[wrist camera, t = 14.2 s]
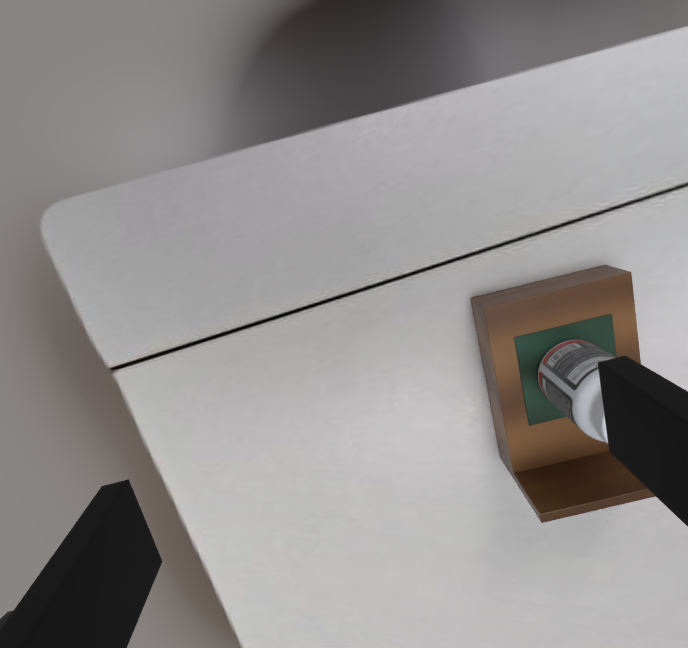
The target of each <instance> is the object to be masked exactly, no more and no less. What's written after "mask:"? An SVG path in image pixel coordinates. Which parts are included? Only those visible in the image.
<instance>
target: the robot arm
mask: <svg viewBox="0 0 688 648" xmlns="http://www.w3.org/2000/svg"><path fill="white" fill-rule="evenodd" d="M598 370H599V377H600V385H601V393H602V400H603V408H604V416H605V423H606V431H607V439H608V446H609V452H610V453H611V454H612V455H613V456H614V457H615V458H616V459H617V460H618V461H619V462H620V463H622V464H623V465H624V466H625V467H626V468H627V469H628V470H629V471H630V472H631V473H632V474H633V475H634V476H635V477H636V478H637V479H638V480H639V481H640V482H642V483H643V484H644V485H645V486H646V487H647V488H648V489H649V490H650V491H651V492H652V493H653V494H654V495H655V496H656V497H657V498H658V499H659V500H660V501H661V502H663V503H664V504H665V505H666V506H667V507H668V508H669V509H670V510H671V511H672V512H673V513H674V514H675V515H676V516H677V517H678V518H679V519H680V520H681V521H682V522H684V523H685V524H686V525H687V526H688V392H687V391H686V390H684V389H682V388H681V387H679V386H677V385H675V384H674V383H672V382H670V381H669V380H667V379H665V378H663V377H662V376H660V375H658V374H657V373H655V372H653V371H651V370H650V369H648V368H646V367H645V366H643V365H641V364H639V363H638V362H636V361H634V360H633V359H631V358H629V357H627V356H626V355H625V356H621V357H617V358H613V359H609V360H605V361H601V362H598ZM161 563H162V559H161V557H160V555H159V552H158V550H157V548H156V545H155V542H154V540H153V538H152V535H151V533H150V530H149V528H148V525H147V523H146V521H145V518H144V516H143V513H142V511H141V508H140V506H139V503H138V501H137V499H136V496H135V494H134V491H133V489H132V487H131V484H130V482H129V480H125V481H121V482H117V483H113V484H109V485H105V486H102V487H101V489H100V490H99V491H98V493H97V494H96V496H95V497H94V498H93V500H92V501H91V503H90V504H89V505H88V507H87V508H86V509H85V511H84V513H83V514H82V515H81V517H80V518H79V519H78V521H77V522H76V524H75V525H74V527H73V528H72V529H71V531H70V532H69V533H68V535H67V536H66V538H65V539H64V540H63V542H62V543H61V545H60V546H59V548H58V549H57V551H56V552H55V553H54V555H53V556H52V557H51V559H50V560H49V562H48V563H47V564H46V566H45V567H44V569H43V570H42V571H41V573H40V574H39V576H38V577H37V579H36V580H35V582H34V583H33V584H32V586H31V587H30V588H29V590H28V591H27V593H26V594H25V596H24V597H23V598H22V600H21V601H20V603H19V604H18V605H17V607H16V608H15V610H14V611H10V612H7V613H6V614H5V615H4V616H3V617H2V618H1V619H0V648H127V645H128V643H129V641H130V638H131V636H132V633H133V631H134V629H135V626H136V624H137V621H138V619H139V616H140V614H141V612H142V609H143V607H144V604H145V602H146V599H147V597H148V595H149V592H150V590H151V587H152V585H153V583H154V580H155V578H156V575H157V573H158V570H159V568H160V566H161Z"/></svg>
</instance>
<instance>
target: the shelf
mask: <svg viewBox="0 0 688 648" xmlns="http://www.w3.org/2000/svg"><path fill="white" fill-rule="evenodd" d="M471 304H472V309H473V314H474V320H475V325H476V330H477V336H478V341H479V346H480V352H481V357H482V362H483V368H484V373H485V378H486V384H487V389H488V394H489V400H490V405H491V411H492V416H493V421H494V427H495V432H496V437H497V443H498V448H499V453H500V458H501V460H502V461H503V463H504V464H505V466H506V468H507V469H508V471H509V472H510V474H511V475H512V477H513V479H514V480H515V482H516V483H517V485H518V487H519V488H520V490H521V491H522V493H523V494H524V496H525V498H526V499H527V501H528V502H529V504H530V505H531V507H532V508H533V510H534V512H535V513H536V515H537V516H538V518H539V519H540V521H541V522H542V523H543V522H547V521H552V520H556V519H560V518H565V517H569V516H573V515H577V514H582V513H586V512H590V511H595V510H599V509H603V508H607V507H612V506H616V505H620V504H625V503H629V502H633V501H638V500H642V499H646V498H650V497H655V495H654V494H653V493H652V492H651V491H650V490H649V489H648V488H647V487H646V486H645V485H644V484H643V483H642V482H640V481H639V480H638V479H637V478H636V477H635V476H634V475H633V474H632V473H631V472H630V471H629V470H628V469H627V468H626V467H625V466H624V465H623V464H622V463H620V462H619V461H618V460H617V459H616V458H615V457H614V456H613V455H612V454H611V453H610V452H609V446H608V444H607V443H606V442H603V441H599V440H596V439H594V438H592V437H590V436H588V435H587V434H586V433H584V432H583V431H582V430H581V429H580V428H579V427H578V426H576V425H575V424H574V423H573V422H572V421H571V420H570V419H569V418H568V417H567V416H566V415H565V414H564V413H563V412H562V411H560V410H559V409H558V408H557V407H556V406H555V405H554V404H553V403H552V402H551V401H550V400H549V399H548V398H547V397H546V396H545V395H544V393H543V392H542V390H541V388H540V386H539V382H538V370H539V366H540V363H541V361H542V359H543V358H544V356H545V355H546V353H547V352H548V351H549V350H550V349H552V348H553V347H554V346H556V345H558V344H560V343H562V342H565V341H569V340H583V341H587V342H589V343H592V344H594V345H596V346H597V347H599V348H600V349H602V350H604V351H606V352H607V353H609V354H611V355H613V356H614V357H616V358H617V357H621V356H625V355H626V356H627V357H629V358H631V359H633V360H634V361H636V362H638V363H639V364H641V361H640V352H639V342H638V333H637V323H636V314H635V304H634V295H633V285H632V276H631V272H628V271H625V270H622V269H618V268H615V267H611V266H608V265H603V266H599V267H595V268H591V269H587V270H583V271H579V272H574V273H570V274H566V275H562V276H558V277H554V278H550V279H546V280H542V281H538V282H534V283H530V284H526V285H522V286H517V287H513V288H509V289H505V290H501V291H497V292H493V293H489V294H485V295H481V296H477V297H473V298H471Z"/></svg>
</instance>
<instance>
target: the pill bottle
mask: <svg viewBox="0 0 688 648" xmlns="http://www.w3.org/2000/svg"><path fill="white" fill-rule="evenodd" d="M613 358H616V357H614V356H613V355H611V354H609V353H607V352H606V351H604V350H602V349H600V348H599V347H597V346H596V345H594V344H592V343H589V342H587V341H583V340H569V341H565V342H562V343H560V344H558V345H556V346H554V347H553V348H552V349H550V350H549V351H548V352H547V353H546V355H545V356H544V358H543V359H542V361H541V363H540V366H539V370H538V382H539V386H540V388H541V390H542V392H543V393H544V395H545V396H546V397H547V398H548V399H549V400H550V401H551V402H552V403H553V404H554V405H555V406H556V407H557V408H558V409H559V410H560V411H562V412H563V413H564V414H565V415H566V416H567V417H568V418H569V419H570V420H571V421H572V422H573V423H574V424H575V425H576V426H578V427H579V428H580V429H581V430H582V431H583V432H584V433H586V434H587V435H588V436H590V437H592V438H594V439H596V440H599V441H603V442H606V443H607V444H608V439H607V431H606V423H605V416H604V408H603V400H602V393H601V385H600V377H599V370H598V362H601V361H605V360H609V359H613Z"/></svg>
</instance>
